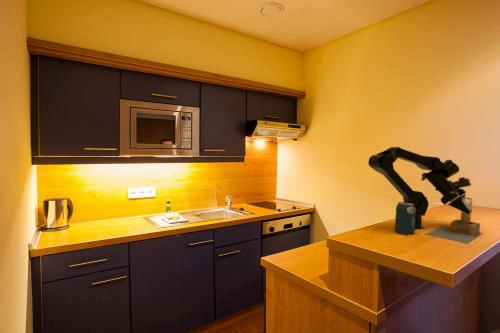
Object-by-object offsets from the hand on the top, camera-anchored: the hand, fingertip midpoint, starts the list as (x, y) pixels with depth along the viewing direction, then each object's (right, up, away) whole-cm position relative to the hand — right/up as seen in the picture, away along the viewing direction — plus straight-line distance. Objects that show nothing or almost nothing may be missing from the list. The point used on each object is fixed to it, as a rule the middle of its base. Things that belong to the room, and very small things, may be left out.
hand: (470, 212), depth 116 cm
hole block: (-1, -8, +2) cm, 8 cm away
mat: (-8, -8, -2) cm, 12 cm away
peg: (-1, -6, +1) cm, 7 cm away
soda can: (-27, -8, -1) cm, 28 cm away
